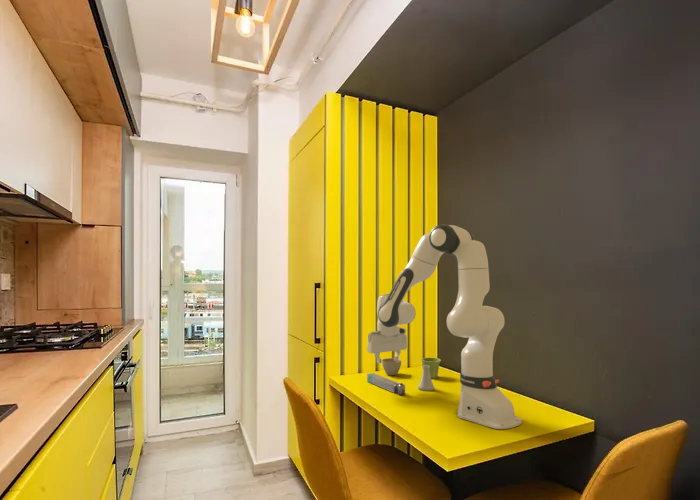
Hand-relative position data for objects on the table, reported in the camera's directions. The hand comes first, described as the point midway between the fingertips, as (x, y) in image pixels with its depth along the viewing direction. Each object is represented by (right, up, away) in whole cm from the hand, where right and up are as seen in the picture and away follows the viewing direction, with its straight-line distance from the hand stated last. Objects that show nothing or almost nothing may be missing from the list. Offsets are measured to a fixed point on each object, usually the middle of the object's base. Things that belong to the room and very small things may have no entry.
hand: (387, 361), depth 174 cm
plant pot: (+24, -14, +20) cm, 34 cm away
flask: (+17, -12, 0) cm, 21 cm away
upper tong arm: (-3, -12, +2) cm, 12 cm away
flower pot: (+4, -14, +25) cm, 29 cm away
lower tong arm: (-1, -12, +3) cm, 12 cm away
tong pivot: (+5, -12, -9) cm, 15 cm away
